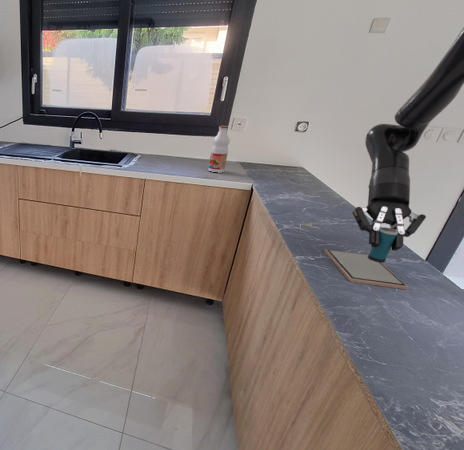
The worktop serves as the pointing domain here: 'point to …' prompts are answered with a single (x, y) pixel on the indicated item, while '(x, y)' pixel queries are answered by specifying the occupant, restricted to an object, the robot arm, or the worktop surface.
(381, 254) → the tumbler
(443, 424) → the worktop surface
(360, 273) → the tablet
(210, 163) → the fruit juice
